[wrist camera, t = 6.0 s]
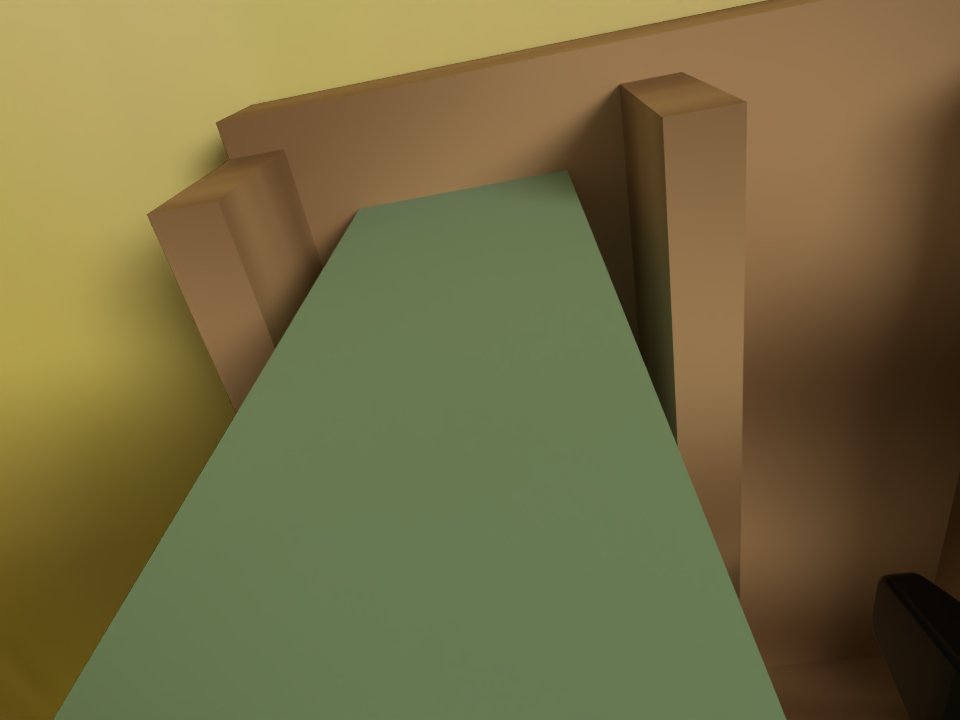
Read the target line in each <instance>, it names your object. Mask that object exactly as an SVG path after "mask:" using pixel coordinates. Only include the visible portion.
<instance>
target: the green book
mask: <svg viewBox="0 0 960 720" xmlns="http://www.w3.org/2000/svg"><path fill="white" fill-rule="evenodd" d="M53 720H786V717H785V715H784V712H783V710H782V707H781V705H780V702H779V700H778V697H777V695H776V692H775V690H774V687H773V685H772V682H771V680H770V677H769V675H768V672H767V670H766V667H765V665H764V662H763V660H762V657H761V655H760V652H759V650H758V647H757V645H756V642H755V640H754V637H753V635H752V632H751V630H750V627H749V625H748V622H747V620H746V617H745V615H744V612H743V610H742V607H741V605H740V602H739V600H738V597H737V594H736V592H735V589H734V587H733V584H732V582H731V579H730V577H729V574H728V572H727V569H726V567H725V564H724V562H723V559H722V557H721V554H720V552H719V549H718V547H717V544H716V542H715V539H714V537H713V534H712V532H711V529H710V527H709V524H708V522H707V519H706V517H705V514H704V512H703V509H702V507H701V504H700V502H699V499H698V497H697V494H696V492H695V489H694V487H693V484H692V482H691V479H690V477H689V474H688V472H687V469H686V467H685V464H684V462H683V459H682V457H681V454H680V452H679V449H678V447H677V444H676V442H675V439H674V437H673V434H672V432H671V429H670V427H669V424H668V421H667V419H666V416H665V414H664V411H663V409H662V406H661V404H660V401H659V399H658V396H657V394H656V391H655V389H654V386H653V384H652V381H651V379H650V376H649V374H648V371H647V369H646V366H645V364H644V361H643V359H642V356H641V354H640V351H639V349H638V346H637V344H636V341H635V339H634V336H633V334H632V331H631V329H630V326H629V324H628V321H627V319H626V316H625V314H624V311H623V309H622V306H621V304H620V301H619V299H618V296H617V294H616V291H615V289H614V286H613V284H612V281H611V279H610V276H609V274H608V271H607V269H606V266H605V264H604V261H603V259H602V256H601V254H600V251H599V248H598V246H597V243H596V241H595V238H594V236H593V233H592V231H591V228H590V226H589V223H588V221H587V218H586V216H585V213H584V211H583V208H582V206H581V203H580V201H579V198H578V196H577V193H576V191H575V188H574V186H573V183H572V181H571V178H570V176H569V173H568V171H567V170H564V171H559V172H554V173H548V174H543V175H537V176H532V177H527V178H521V179H516V180H510V181H505V182H500V183H494V184H489V185H483V186H478V187H473V188H467V189H462V190H456V191H451V192H446V193H440V194H435V195H429V196H424V197H419V198H413V199H408V200H402V201H397V202H392V203H386V204H381V205H375V206H370V207H365V208H359V210H358V212H357V213H356V215H355V217H354V218H353V220H352V222H351V223H350V225H349V227H348V228H347V230H346V232H345V233H344V235H343V237H342V238H341V240H340V242H339V243H338V245H337V247H336V248H335V250H334V252H333V253H332V255H331V257H330V258H329V260H328V262H327V263H326V265H325V267H324V268H323V270H322V272H321V273H320V275H319V277H318V278H317V280H316V282H315V283H314V285H313V287H312V288H311V290H310V292H309V294H308V295H307V297H306V299H305V300H304V302H303V304H302V305H301V307H300V309H299V310H298V312H297V314H296V315H295V317H294V319H293V320H292V322H291V324H290V325H289V327H288V329H287V330H286V332H285V334H284V335H283V337H282V339H281V340H280V342H279V344H278V345H277V347H276V349H275V350H274V352H273V354H272V355H271V357H270V359H269V360H268V362H267V364H266V365H265V367H264V369H263V370H262V372H261V374H260V375H259V377H258V379H257V380H256V382H255V384H254V385H253V387H252V389H251V390H250V392H249V394H248V395H247V397H246V399H245V400H244V402H243V404H242V405H241V407H240V409H239V410H238V412H237V414H236V415H235V417H234V419H233V420H232V422H231V424H230V425H229V427H228V429H227V430H226V432H225V434H224V435H223V437H222V439H221V440H220V442H219V444H218V445H217V447H216V449H215V450H214V452H213V454H212V455H211V457H210V459H209V460H208V462H207V464H206V465H205V467H204V469H203V470H202V472H201V474H200V475H199V477H198V479H197V480H196V482H195V484H194V485H193V487H192V489H191V490H190V492H189V494H188V496H187V497H186V499H185V501H184V502H183V504H182V506H181V507H180V509H179V511H178V512H177V514H176V516H175V517H174V519H173V521H172V522H171V524H170V526H169V527H168V529H167V531H166V532H165V534H164V536H163V537H162V539H161V541H160V542H159V544H158V546H157V547H156V549H155V551H154V552H153V554H152V556H151V557H150V559H149V561H148V562H147V564H146V566H145V567H144V569H143V571H142V572H141V574H140V576H139V577H138V579H137V581H136V582H135V584H134V586H133V587H132V589H131V591H130V592H129V594H128V596H127V597H126V599H125V601H124V602H123V604H122V606H121V607H120V609H119V611H118V612H117V614H116V616H115V617H114V619H113V621H112V622H111V624H110V626H109V627H108V629H107V631H106V632H105V634H104V636H103V637H102V639H101V641H100V642H99V644H98V646H97V647H96V649H95V651H94V652H93V654H92V656H91V657H90V659H89V661H88V662H87V664H86V666H85V667H84V669H83V671H82V672H81V674H80V676H79V677H78V679H77V681H76V682H75V684H74V686H73V687H72V689H71V691H70V692H69V694H68V696H67V698H66V699H65V701H64V703H63V704H62V706H61V708H60V709H59V711H58V713H57V714H56V716H55V718H54V719H53Z"/></svg>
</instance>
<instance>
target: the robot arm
mask: <svg viewBox="0 0 960 720" xmlns="http://www.w3.org/2000/svg"><path fill="white" fill-rule="evenodd" d="M871 622H872V629H873V632H874V636H875V638H876V641H877V643H878V646H879V648H880V650H881V653H882V655H883V657H884V660H885V662H886V664H887V667H888V669H889V672H890V674H891V676H892V679H893V681H894V683H895V686H896V688H897V690H898V693H899V695H900V697H901V700H902V702H903V704H904V707H905V709H906V712H907V714H908V716H909V719H910V720H960V601H958V600H957V599H955V598H954V597H952V596H951V595H950V594H948V593H947V592H945V591H944V590H942V589H941V588H939V587H938V586H936V585H935V584H933V583H932V582H931V581H929V580H928V579H926V578H925V577H923V576H921V575H919V574H917V573H913V572H905V573H896V574H887V575H883V576H881V577H880V578H879V579H878V582H877V586H876V592H875V598H874V604H873V610H872V618H871Z"/></svg>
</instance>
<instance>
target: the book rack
mask: <svg viewBox="0 0 960 720" xmlns="http://www.w3.org/2000/svg"><path fill="white" fill-rule="evenodd" d="M216 125H217V127H218V130H219V133H220V135H221V138H222V141H223V144H224V146H225V149H226V152H227V154H228V157H229V160H228V161H227V162H225V163H224V164H222V165H221V166H219V167H218V168H216V169H215V170H213V171H212V172H210V173H209V174H207V175H206V176H204V177H203V178H201V179H200V180H198V181H197V182H195V183H194V184H192V185H191V186H189V187H188V188H186V189H185V190H183V191H182V192H180V193H178V194H177V195H175V196H174V197H172V198H171V199H169V200H168V201H166V202H165V203H163V204H162V205H160V206H159V207H157V208H156V209H154V210H153V211H151V212H150V213H148V214H147V216H148V218H149V220H150V223H151V225H152V227H153V229H154V232H155V234H156V236H157V238H158V240H159V243H160V245H161V247H162V249H163V252H164V254H165V256H166V258H167V261H168V263H169V265H170V267H171V269H172V272H173V274H174V276H175V278H176V281H177V283H178V285H179V287H180V290H181V292H182V294H183V296H184V298H185V301H186V303H187V305H188V307H189V310H190V312H191V314H192V316H193V319H194V321H195V323H196V325H197V327H198V330H199V332H200V334H201V336H202V339H203V341H204V343H205V345H206V348H207V350H208V352H209V354H210V357H211V359H212V361H213V363H214V365H215V368H216V370H217V372H218V374H219V377H220V379H221V381H222V383H223V386H224V388H225V390H226V392H227V394H228V397H229V399H230V401H231V403H232V406H233V408H234V410H235V412H236V414H237V412H238V410H239V409H240V407H241V405H242V404H243V402H244V400H245V399H246V397H247V395H248V394H249V392H250V390H251V389H252V387H253V385H254V384H255V382H256V380H257V379H258V377H259V375H260V374H261V372H262V370H263V369H264V367H265V365H266V364H267V362H268V360H269V359H270V357H271V355H272V354H273V352H274V350H275V349H276V347H277V345H278V344H279V342H280V340H281V339H282V337H283V335H284V334H285V332H286V330H287V329H288V327H289V325H290V324H291V322H292V320H293V319H294V317H295V315H296V314H297V312H298V310H299V309H300V307H301V305H302V304H303V302H304V300H305V299H306V297H307V295H308V294H309V292H310V290H311V288H312V287H313V285H314V283H315V282H316V280H317V278H318V277H319V275H320V273H321V272H322V270H323V268H324V267H325V265H326V263H327V262H328V260H329V258H330V257H331V255H332V253H333V252H334V250H335V248H336V247H337V245H338V243H339V242H340V240H341V238H342V237H343V235H344V233H345V232H346V230H347V228H348V227H349V225H350V223H351V222H352V220H353V218H354V217H355V215H356V213H357V212H358V210H359V208H365V207H370V206H375V205H381V204H386V203H392V202H397V201H402V200H408V199H413V198H419V197H424V196H429V195H435V194H440V193H446V192H451V191H456V190H462V189H467V188H473V187H478V186H483V185H489V184H494V183H500V182H505V181H510V180H516V179H521V178H527V177H532V176H537V175H543V174H548V173H554V172H559V171H564V170H567V171H568V173H569V176H570V178H571V181H572V183H573V186H574V188H575V191H576V193H577V196H578V198H579V201H580V203H581V206H582V208H583V211H584V213H585V216H586V218H587V221H588V223H589V226H590V228H591V231H592V233H593V236H594V238H595V241H596V243H597V246H598V248H599V251H600V254H601V256H602V259H603V261H604V264H605V266H606V269H607V271H608V274H609V276H610V279H611V281H612V284H613V286H614V289H615V291H616V294H617V296H618V299H619V301H620V304H621V306H622V309H623V311H624V314H625V316H626V319H627V321H628V324H629V326H630V329H631V331H632V334H633V336H634V339H635V341H636V344H637V346H638V349H639V351H640V354H641V356H642V359H643V361H644V364H645V366H646V369H647V371H648V374H649V376H650V379H651V381H652V384H653V386H654V389H655V391H656V394H657V396H658V399H659V401H660V404H661V406H662V409H663V411H664V414H665V416H666V419H667V421H668V424H669V427H670V429H671V432H672V434H673V437H674V439H675V442H676V444H677V447H678V449H679V452H680V454H681V457H682V459H683V462H684V464H685V467H686V469H687V472H688V474H689V477H690V479H691V482H692V484H693V487H694V489H695V492H696V494H697V497H698V499H699V502H700V504H701V507H702V509H703V512H704V514H705V517H706V519H707V522H708V524H709V527H710V529H711V532H712V534H713V537H714V539H715V542H716V544H717V547H718V549H719V552H720V554H721V557H722V559H723V562H724V564H725V567H726V569H727V572H728V574H729V577H730V579H731V582H732V584H733V587H734V589H735V592H736V594H737V597H738V600H739V602H740V605H741V607H742V610H743V612H744V615H745V617H746V620H747V622H748V625H749V627H750V630H751V632H752V635H753V637H754V640H755V642H756V645H757V647H758V650H759V652H760V655H761V657H762V660H763V662H764V665H765V667H766V670H767V672H768V675H769V677H770V680H771V682H772V685H773V687H774V690H775V692H776V695H777V697H778V700H779V702H780V705H781V707H782V710H783V712H784V715H785V717H786V720H910V719H909V716H908V714H907V712H906V709H905V707H904V704H903V702H902V700H901V697H900V695H899V693H898V690H897V688H896V686H895V683H894V681H893V679H892V676H891V674H890V672H889V669H888V667H887V664H886V662H885V660H884V657H883V655H882V653H881V650H880V648H879V646H878V643H877V641H876V638H875V636H874V632H873V629H872V622H871V618H872V610H873V604H874V598H875V592H876V586H877V582H878V579H879V578H880V577H881V576H883V575H887V574H896V573H905V572H913V573H917V574H919V575H921V576H923V577H925V578H926V579H928V580H929V581H931V582H932V583H933V584H935V585H936V586H938V587H939V588H941V589H942V590H944V591H945V592H947V593H948V594H950V595H951V596H952V597H954V598H955V599H957V600H958V601H960V0H767V1H762V2H757V3H752V4H747V5H742V6H737V7H732V8H727V9H722V10H717V11H713V12H708V13H703V14H698V15H693V16H688V17H683V18H678V19H673V20H668V21H663V22H658V23H653V24H648V25H644V26H639V27H634V28H629V29H624V30H619V31H614V32H609V33H604V34H599V35H594V36H589V37H584V38H579V39H575V40H570V41H565V42H560V43H555V44H550V45H545V46H540V47H535V48H530V49H525V50H520V51H515V52H510V53H506V54H501V55H496V56H491V57H486V58H481V59H476V60H471V61H466V62H461V63H456V64H451V65H446V66H441V67H436V68H432V69H427V70H422V71H417V72H412V73H407V74H402V75H397V76H392V77H387V78H382V79H377V80H372V81H367V82H363V83H358V84H353V85H348V86H343V87H338V88H333V89H328V90H323V91H318V92H313V93H308V94H303V95H298V96H294V97H289V98H284V99H279V100H274V101H269V102H264V103H259V104H254V105H250V106H248V107H246V108H244V109H242V110H240V111H238V112H236V113H234V114H232V115H230V116H228V117H226V118H224V119H222V120H220V121H218V122H216Z"/></svg>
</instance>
